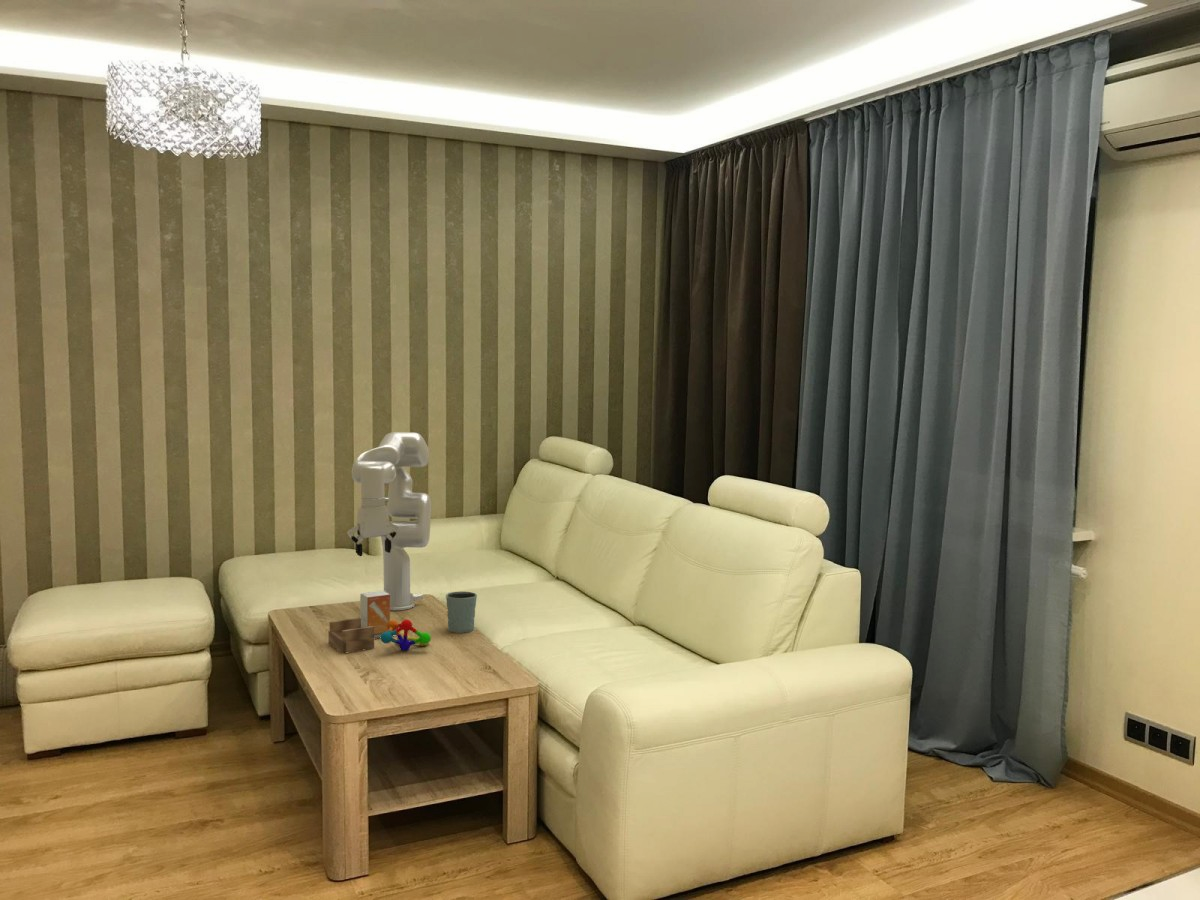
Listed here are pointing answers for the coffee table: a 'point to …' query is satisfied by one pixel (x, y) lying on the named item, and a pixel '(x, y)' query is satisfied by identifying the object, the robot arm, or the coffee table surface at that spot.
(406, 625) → the molecular model
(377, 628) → the small box
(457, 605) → the blue-grey cup
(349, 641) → the slot
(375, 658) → the coffee table surface
